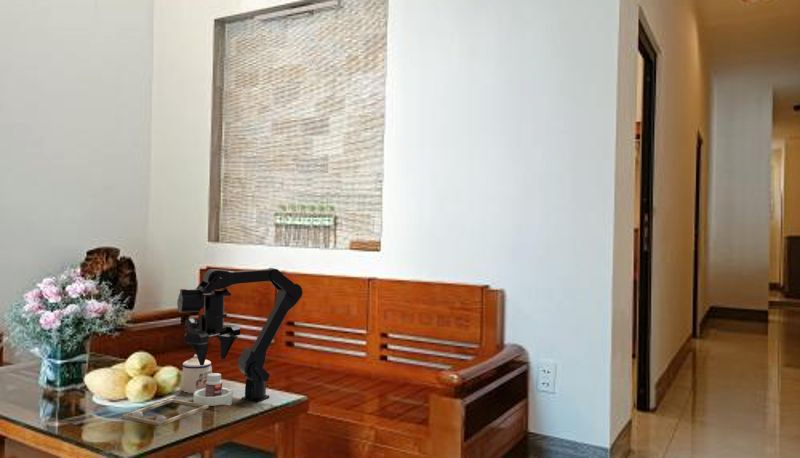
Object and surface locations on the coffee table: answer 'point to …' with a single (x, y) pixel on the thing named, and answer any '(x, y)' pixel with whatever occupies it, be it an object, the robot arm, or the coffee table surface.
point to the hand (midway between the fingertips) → (212, 362)
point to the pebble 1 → (137, 414)
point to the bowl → (213, 398)
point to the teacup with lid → (195, 374)
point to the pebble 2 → (160, 418)
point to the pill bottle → (213, 385)
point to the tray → (201, 407)
